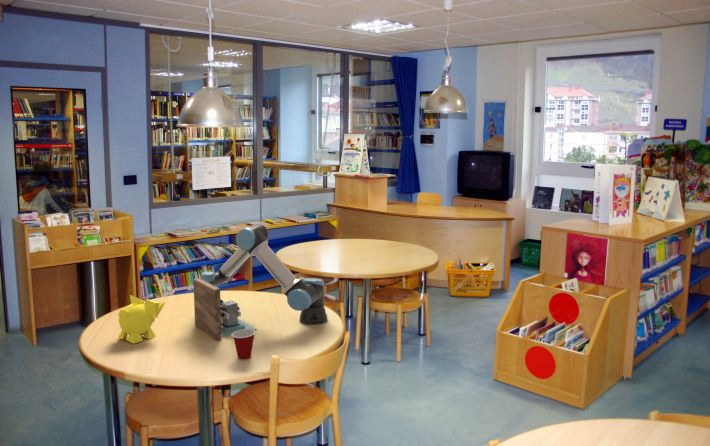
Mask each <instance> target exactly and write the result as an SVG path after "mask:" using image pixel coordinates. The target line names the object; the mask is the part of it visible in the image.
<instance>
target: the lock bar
mask: <svg viewBox="0 0 710 446" xmlns="http://www.w3.org/2000/svg"><path fill="white" fill-rule="evenodd" d="M238 305H239V304H238V302H237V301H234V300H228V301H223V302H222V311H225V312H226V313H228V314H229V319H226V318H225V317H221V322H222V325H224V326H226V327H227V328H228V327H233V326H238V319H239V316H238V307H239V306H238Z"/></svg>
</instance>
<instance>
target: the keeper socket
mask: <svg viewBox="0 0 710 446" xmlns="http://www.w3.org/2000/svg"><path fill="white" fill-rule="evenodd" d="M243 329H252V330H254V331H257V328H256V327H254V326H253V325H250V324H249V323H247V322H245V321H243V320H242V319H240V318H238V326H233V327H228V328H227V327H226V326H224V325H222V321H221V338H225V337H230V336H232V335H231V334H232V333H233V332H235V331H238V330H243Z"/></svg>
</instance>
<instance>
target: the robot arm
mask: <svg viewBox="0 0 710 446" xmlns="http://www.w3.org/2000/svg"><path fill="white" fill-rule="evenodd" d="M269 237H270V232H269V230H268V227H266V226H265V225H264V224H260V223H255V224H253V225H252V224H251V225H249V226H244V227H243V228H241V229H240V230H238V232H237V233H236V237H235V241H236V245H237V247H238V248H237V250H235V252H234V253H232V255H231V256H229V258H228V259H227V260H226V261H225V262H224V263H223V265H221V267H220V268H219V269H218V270H216V271H215V272H213V271H202V272H201V273H200V279H202V280H204V281H206V282H208V283H210V284H212V285H214V286H216V287H218V286H220V285H223V284H226V283H227V282H229V281H230V280H231V276H233V275H234V273H235V272H236V271H237V270H238V269H239V268H240V267H241V266H242V265H243V264H244V263H245V262H246V261H247V260H248V259H249V258H250V257H253V256H254V257H256V259H257V260H258V261H259V262H260V263H261V264H262V266H264V268H265V269H266V270H267V272H269V274H271V276H272V277H273V278H274V279H275V280H276V282H277V283H278V284H279V286H281V288H283V290H284V295H285V296H286V300H287V305H288V306H289V307H290V308H291V309H293V310H294V311H298V312H300V311H301V312H300V315H299V322H301V323H302V324H306V325H320V324H324V323H326V322H327V321H328V314H327V312H326V311H327V310H326V307H325V281H324V279H321V278H311V277H310V278H309V277H307V278H303V279H301V278H297V277H296V276H295V275H294V273H292V271H291V270H290V269H289V267H287V266H286V265H285V263H284V262H283V261H282V260H281V259H280V257H279V256H278V255H277V254H276V253H275V252H274V251H273V249H272V248H271V247H270V246H269V245H268V244H269ZM220 302H221V318H222V317H225V318H226V319H229V314H228V313H226V312H225V311H222V302H224V301H223V299H221V298H220ZM241 317H242V311H241V310H240V307H239V306H238V318H241Z"/></svg>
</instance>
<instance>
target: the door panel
mask: <svg viewBox="0 0 710 446" xmlns="http://www.w3.org/2000/svg"><path fill="white" fill-rule="evenodd" d="M192 281H193V305H194V327H195V328H197V329H198V330H199V331H201V332H202V333H204V334H205V335H207V336H208V337H210V338H211V339H213V340H214V341H222V338H223V337H221V322H222V317H221V302H220V299H221V288H219V287H218V286H214V285H212V284H210V283H208V282H206V281H204V280H202V279H201V277H196V278H193V279H192Z"/></svg>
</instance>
